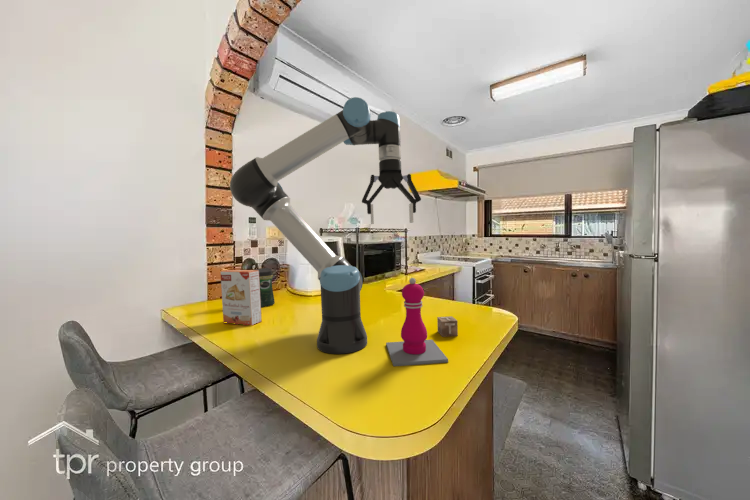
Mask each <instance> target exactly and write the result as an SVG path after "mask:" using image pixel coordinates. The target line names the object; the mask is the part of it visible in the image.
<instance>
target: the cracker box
mask: <svg viewBox="0 0 750 500" xmlns="http://www.w3.org/2000/svg"><path fill="white" fill-rule="evenodd" d="M220 283H221V284H220V285H221V300H222V301H221V303H222V304H221V305H222V317H223V318H222V320H223V323H224V322H227V323H226V324H228V323H235V324H234V325H238V324H243V325H242V326H248V325H252V326H255V325H257V324H259V323H261V322H262V307H261V300H260V281H259V270H255V269H227V270H222V271H220ZM256 323H257V324H256ZM254 324H255V325H254Z"/></svg>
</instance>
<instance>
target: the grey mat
mask: <svg viewBox="0 0 750 500" xmlns="http://www.w3.org/2000/svg"><path fill="white" fill-rule="evenodd" d="M403 343H404V340H402V341H393V342H391V341H389V342H386V343H385V346H386V349H387V352H388V353H389V354H388V355H389V358H390V360H391V362H392V365H393V367H401V366H403V367H404V366H414V365H430V364H441V363H449V358H448V357H447V356H446V355H445V353H444V352H443V351H442V349H440V347H439V346H438V345H437V344H436V342H435V341H434V340H433V339H426V340H425V341H424V343H425V344H426V351H425V352H424V353H422V354H408V353H406V352H404V351H403Z"/></svg>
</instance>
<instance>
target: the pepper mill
mask: <svg viewBox="0 0 750 500" xmlns="http://www.w3.org/2000/svg"><path fill="white" fill-rule="evenodd" d="M408 281H409V283H407V284H405V285H404V286H403V287H402V289H401V296H402V298H403V300H404V301H403V307H404V308H405V315H406V316H405V319H404V322H403V325H402V327H401V329H400V338H401V339H402V341H404V343H403V351H404V352H406V353H408V354H422V353H424V352H425V351H426V344H425V343H424V341H425V340H428V331H427V328H426V325H425V323H424V321H423V319H422V313H421V309H422V307H423V301H422V299H423V298H424V296H425V291H424V288H423V287H422V286H421V285H420V284H418V283H416V282H417V280H416V279H415V277H411V278H409V280H408Z"/></svg>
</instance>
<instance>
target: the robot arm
mask: <svg viewBox="0 0 750 500" xmlns="http://www.w3.org/2000/svg"><path fill="white" fill-rule="evenodd" d="M371 117H372V115H371V110H370V107H369V104H368V103H367V102H366V100H365V99H363V98H361V97H356V96H355V97H351V98H349V99H348V100H346V101H345V103H344V105H343V109H342V110H341V111H339V112H337V113H336V114H334V115H333V116H331V117H329V118H327V119H326V120H324V121H323V122H321V123H319V124H317V125H316V126H314V127H312V128H310V129H308V130H307V131H305V132H304V133H302V134H301V135H298V136H297V137H295V138H294V139H292V140H290V141H289V142H286V143H285V144H284V145H282V146H280V147H278V148H277V149H275V150H274V151H272V152H270V153H268V154H267V155H266V156H264V157H259V156H256V157H254V158H253V159H252V160H250V161H248V162H246V163H244V164H243V165H242V166H241V167H239V168H238V169H237V170H236V171H235V172H234V173H233V175H232V177H231V178H230V182H229V189H230V192H231V195H232V196H233V198H234V200H236V201H237V202H238V203H239V204H241V205H243V206H245V207H248V208H252V209H253V210H254V211H255V213H257V215H259V216H260V217H261V218H262V220H263V221H270V222H271V223H272V224H273V225H274V226H275V227H276V228H277V230H278V231H279V232H280V233H281V234H282V235H283V236H284V237H285V238H286V239H287V240H288V241H289V242H290V243H291V245H292V246H293V247H294V248H295V249H296V250H297V251H298V252H299V253H300V255H301V256H302V257H303V258H304V259H305V260H306V261H307V262H308V263H309V265H311V266H312V267H313V269H314V270H316V272H317V280H318V281H319V283H320V284H319V285H320V302H321V303H320V304H321V305H320V306H321V307H320V308H321V324H320V327H319V330H318V333H317V338H316V347H317V350H319V351H320V352H323V353H326V354H331V355H332V354H334V355H341V354H342V355H345V354H350V353H354V352H358V351H361V350H362V349H364V348H365V347H367V346H368V335H367V332H366V329H365V326H364V323H363V321H362V318H361V317H362V316H361V313H362V312H361V290H362V288H363V276H362V273H361V272H360V271H359V269H358V268H357V267H356V266H353V265H351V263H350V262H349V261H348V260H347V258H345V257H344V255H337V254H336V253H335V252H334V251H333V250H332V249H331V248H330V247H329V246H328V245H327V243H326V242H325V241H324V240H323V239H322V237H320V235H318V233H317V232H315V230H314V229H313V228H312V227H311V226H310V225H309V224H308V223H307V222H306V220H304V218H303V217H302V216H301V215H300V213H298V211H297V210H295V208H294V207H292V205H291V198H290V197H289V195H288V194H287V193H286V192H285V191H284V189H283V187H282V186H281V184H280V183H279V181H280V180H282V179H284V178H286V177H287V176H288V175H290V174H292V173H293V172H295V171H297V170H299V169H301V168H302V167H304V166H306V165H307V164H309V163H310V162H312V161H313V160H315V159H317V158H319V157H320V156H323V154H325V153H327V152H328V151H331V150H332V149H334V148H335V147H337V146H339V145H340V144H342V143H344V145H346V146H360V145H362V146H363V145H365V146H366V145H378V161H379V163H378V168H379V169H378V170H379V173H378V174H379V175H375V174H371V175H370V178H369V183H368V186H367V188H366V190H365V192H364V195H363V197H362V200H361V203H362V204H364V205H366V208H367V209H366V210H367V211H366V212H367V213H366V214H367V215H370V224H371V225H374V223H375V222H374V221H375V220H374V204H373V202H374V200H375V199H376V197H377V196H378V195H379V194H380V193H381V191H382V190H383V188H384V189H386V190H389V189H392V190H394V189H398V190H399V191H400V192H401V193H402V194H403V195H404V197H405V198H406V199H407V200H408V201H409V202H410V203H409V204H408V211H409V212H408V213H409V217H408V218H409V224H411V223H414V214H415V213H417V205H416V204H417V203H418V202H421V200H422V198H421V196H420V194H419V192H418V189H417V188H416V186H415V184H414V182H413V180H412V174H411V173H408V174H406V175H404V174H403V173H402V161H401V160H402V154H401V153H402V152H401V151H402V150H401V124H400V123H401V122H400V121H401V120H400V116H399V114H398V113H397V112H396V111H391V110H390V111H389V110H386V111H384V112H383V111H382V112H380V113H379V114H378V115H377V119H375V120H374V119H373V120H372V119H371ZM403 180H404V182H405V183H407V186H408V188H409V190H410V192H411V193H410V192H409V190H407V188H405V186H404V184H402V181H403ZM377 181H378V182H379V183H380V185H379V186H378V188H377V189H376V190H375V191H374V193H373V194H372V195H371V196H370V197H369V195H370V192H371V191H372V188H373V185H374V183H376V182H377ZM368 197H369V199H367V198H368Z"/></svg>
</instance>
